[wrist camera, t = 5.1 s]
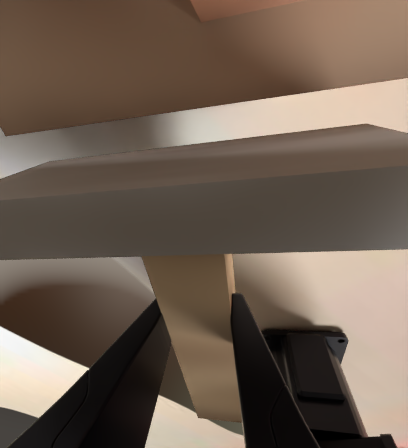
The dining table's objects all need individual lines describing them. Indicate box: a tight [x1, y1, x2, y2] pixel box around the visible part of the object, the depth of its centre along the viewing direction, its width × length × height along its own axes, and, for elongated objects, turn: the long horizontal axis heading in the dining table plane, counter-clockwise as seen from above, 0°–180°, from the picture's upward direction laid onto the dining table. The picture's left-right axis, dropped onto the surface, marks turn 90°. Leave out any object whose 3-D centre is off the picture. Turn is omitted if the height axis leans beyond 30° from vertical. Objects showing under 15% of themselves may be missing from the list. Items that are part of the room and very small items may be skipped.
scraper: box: [0, 124, 408, 423], centre depth 9 cm, size 14×11×4 cm
